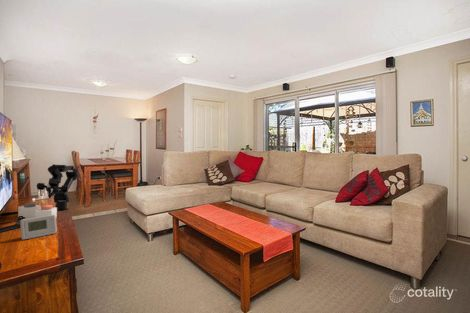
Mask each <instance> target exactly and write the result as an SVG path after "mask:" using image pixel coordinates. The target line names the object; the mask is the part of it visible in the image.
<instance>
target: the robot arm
mask: <svg viewBox="0 0 470 313" xmlns="http://www.w3.org/2000/svg"><path fill="white" fill-rule="evenodd" d="M47 171H48V173H49V174H50V175H51V176H52V177H51V178H49V180H48V184H45V183H43V182H38V183H37V184H36V189H37V190H38V191H39V190H40V191H43V190H46V192H47V193H48V199H51V198H52V197H53V201H54V202H53V203H55V207H57V212H58V211H59V212H60V211H61V212H62V211H66V210H69V208H67V207H68V203H69V201H70V198H69V195H68V192H69V189H70V188H71V186H72V184H73V182H74V181H76V180H77V179H78V178H79V176H80V173H79V171H78V169H77V168H76V167H75V166H74V165H67V164H52V165H51V166H49V167H48V168H47ZM63 173H65V175H66V179H65V181H64V183H63V185H61V186H60V184H61V182H62V179H63V177H64V175H63Z"/></svg>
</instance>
